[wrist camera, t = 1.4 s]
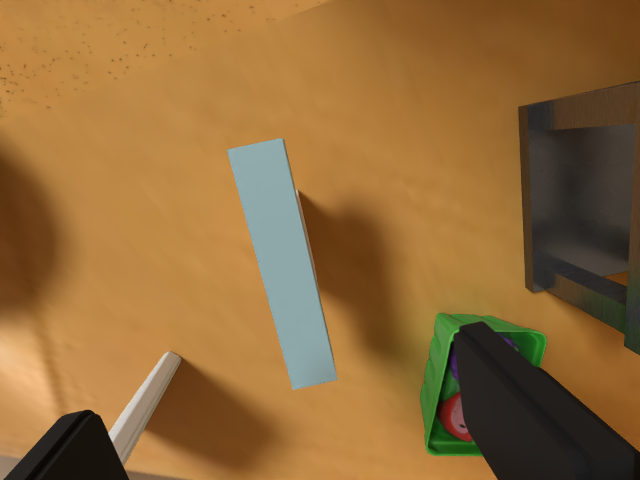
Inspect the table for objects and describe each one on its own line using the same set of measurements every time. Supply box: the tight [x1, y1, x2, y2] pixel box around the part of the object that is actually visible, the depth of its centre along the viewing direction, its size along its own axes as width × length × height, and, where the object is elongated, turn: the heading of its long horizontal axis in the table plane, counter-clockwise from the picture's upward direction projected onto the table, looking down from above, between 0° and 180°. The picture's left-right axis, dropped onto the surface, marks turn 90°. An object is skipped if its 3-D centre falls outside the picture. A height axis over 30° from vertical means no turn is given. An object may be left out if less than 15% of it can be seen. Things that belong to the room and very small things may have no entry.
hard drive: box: [108, 351, 181, 467], centre depth 23 cm, size 2×8×12 cm, turn 143°
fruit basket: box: [420, 313, 547, 456], centre depth 25 cm, size 11×9×11 cm
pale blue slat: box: [227, 138, 337, 390], centre depth 21 cm, size 13×2×10 cm, turn 12°
